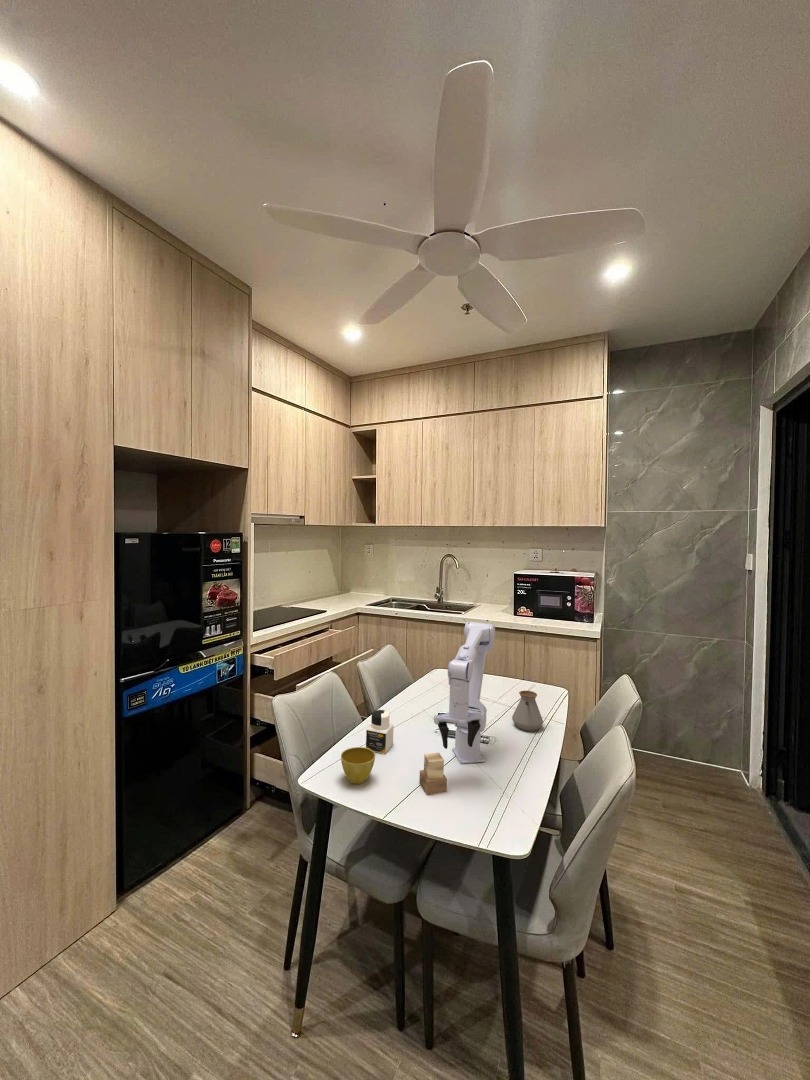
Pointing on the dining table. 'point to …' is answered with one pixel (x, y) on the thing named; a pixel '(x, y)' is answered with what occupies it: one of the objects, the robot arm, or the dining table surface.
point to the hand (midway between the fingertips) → (457, 746)
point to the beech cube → (433, 765)
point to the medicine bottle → (379, 732)
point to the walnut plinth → (432, 784)
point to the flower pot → (357, 764)
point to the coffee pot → (527, 712)
